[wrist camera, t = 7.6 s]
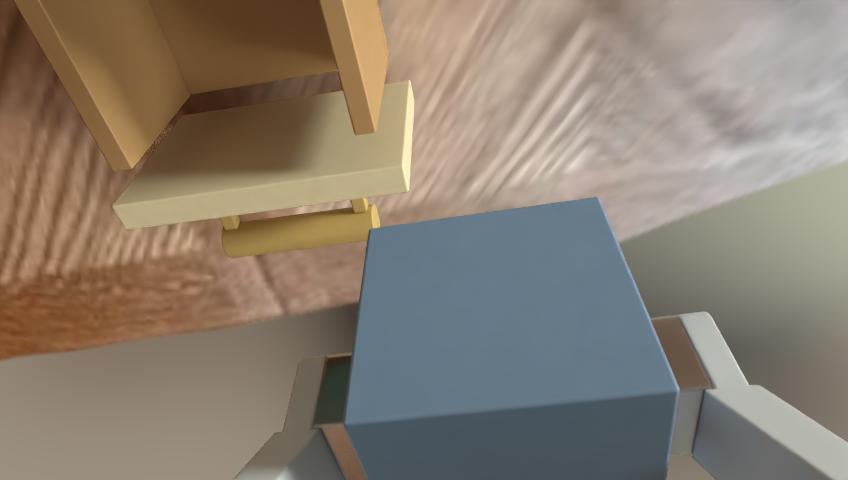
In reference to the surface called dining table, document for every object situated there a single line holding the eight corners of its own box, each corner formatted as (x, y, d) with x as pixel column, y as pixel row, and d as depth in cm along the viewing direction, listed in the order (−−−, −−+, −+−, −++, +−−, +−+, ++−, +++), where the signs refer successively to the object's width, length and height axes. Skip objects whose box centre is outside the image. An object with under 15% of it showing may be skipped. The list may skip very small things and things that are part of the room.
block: (599, 195, 11) (682, 389, 7) (597, 351, 13) (657, 550, 10) (367, 227, 11) (339, 424, 8) (410, 372, 14) (405, 567, 10)
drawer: (428, 173, 30) (426, 272, 24) (221, 202, 31) (169, 302, 25) (336, -308, 19) (288, -354, 13) (19, -232, 20) (-164, -241, 14)
